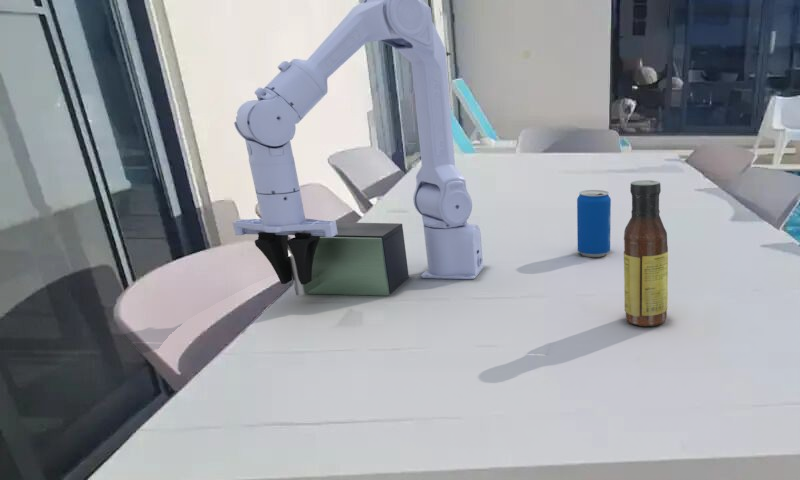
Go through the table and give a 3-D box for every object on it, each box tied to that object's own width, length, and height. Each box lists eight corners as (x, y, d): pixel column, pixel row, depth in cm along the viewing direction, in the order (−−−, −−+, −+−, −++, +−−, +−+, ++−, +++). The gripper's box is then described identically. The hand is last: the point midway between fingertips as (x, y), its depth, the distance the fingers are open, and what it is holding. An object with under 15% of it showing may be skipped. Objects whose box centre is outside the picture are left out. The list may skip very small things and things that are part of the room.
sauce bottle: (671, 316, 95) (678, 179, 87) (660, 330, 90) (667, 187, 82) (629, 310, 97) (632, 177, 89) (616, 325, 92) (618, 184, 84)
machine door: (374, 308, 97) (365, 248, 94) (288, 305, 98) (275, 246, 94) (389, 294, 103) (382, 237, 99) (308, 292, 104) (297, 235, 100)
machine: (390, 294, 104) (382, 236, 100) (309, 292, 104) (297, 234, 100) (409, 278, 112) (402, 223, 108) (333, 276, 112) (324, 221, 108)
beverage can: (606, 259, 123) (607, 196, 118) (574, 257, 125) (573, 194, 119) (612, 250, 129) (613, 190, 124) (581, 248, 130) (581, 188, 125)
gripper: (211, 195, 88) (235, 289, 93) (314, 197, 87) (331, 291, 93) (241, 186, 94) (261, 275, 100) (337, 188, 93) (351, 277, 99)
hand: (296, 282), depth 97 cm, fingers closed
